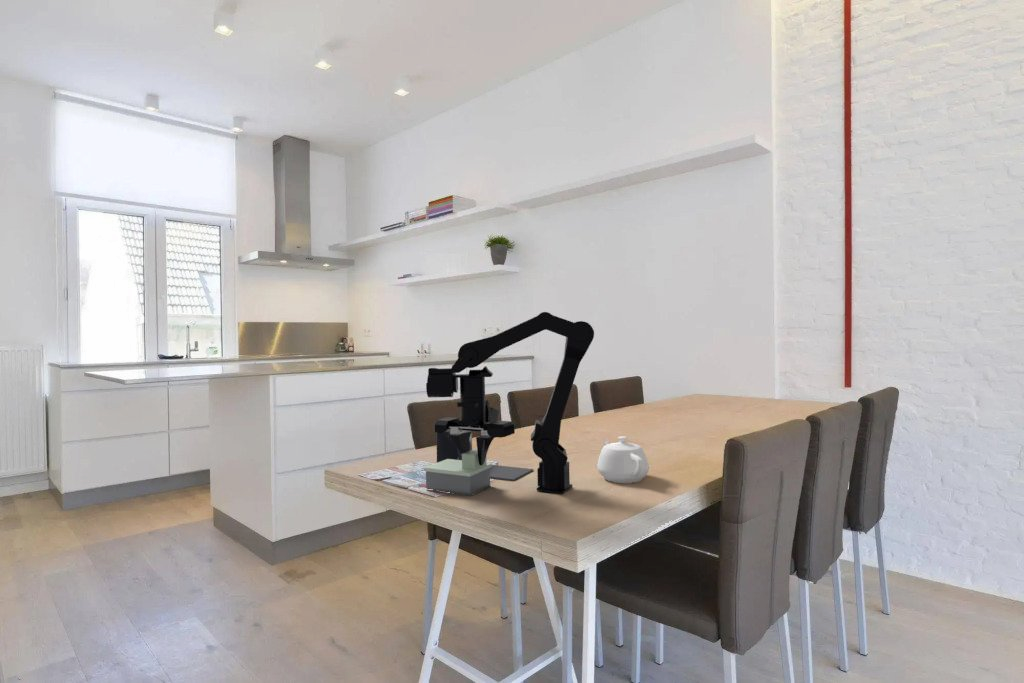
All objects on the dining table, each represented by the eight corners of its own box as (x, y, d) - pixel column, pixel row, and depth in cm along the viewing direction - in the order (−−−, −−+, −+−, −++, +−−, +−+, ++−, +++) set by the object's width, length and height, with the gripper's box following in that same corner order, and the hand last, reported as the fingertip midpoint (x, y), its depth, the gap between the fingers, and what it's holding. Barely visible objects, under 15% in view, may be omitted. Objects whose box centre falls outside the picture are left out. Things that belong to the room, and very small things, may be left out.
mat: (533, 470, 148) (533, 469, 148) (513, 481, 138) (513, 479, 138) (487, 465, 155) (487, 464, 155) (465, 475, 145) (465, 473, 145)
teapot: (583, 470, 148) (582, 431, 147) (627, 466, 151) (626, 428, 150) (616, 491, 128) (615, 446, 128) (665, 486, 131) (665, 442, 131)
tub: (490, 485, 135) (490, 467, 134) (470, 496, 127) (469, 476, 127) (448, 480, 140) (447, 462, 140) (426, 490, 132) (425, 470, 132)
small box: (458, 471, 149) (457, 431, 149) (435, 470, 151) (434, 430, 151) (473, 462, 159) (472, 424, 159) (452, 461, 161) (451, 424, 161)
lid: (491, 468, 135) (491, 448, 134) (470, 478, 126) (469, 457, 126) (447, 463, 141) (447, 444, 140) (424, 472, 132) (423, 452, 132)
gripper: (524, 394, 134) (526, 460, 134) (458, 391, 142) (459, 453, 143) (501, 399, 124) (503, 471, 124) (431, 396, 133) (433, 463, 133)
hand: (474, 464), depth 131 cm, fingers closed on lid, 3 cm apart
